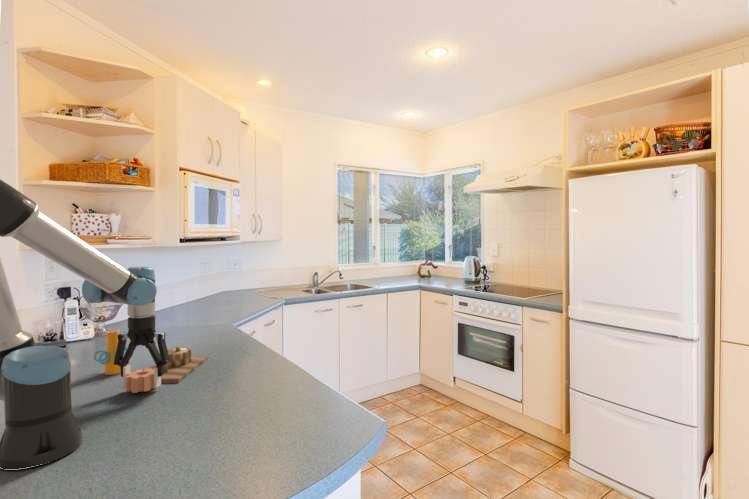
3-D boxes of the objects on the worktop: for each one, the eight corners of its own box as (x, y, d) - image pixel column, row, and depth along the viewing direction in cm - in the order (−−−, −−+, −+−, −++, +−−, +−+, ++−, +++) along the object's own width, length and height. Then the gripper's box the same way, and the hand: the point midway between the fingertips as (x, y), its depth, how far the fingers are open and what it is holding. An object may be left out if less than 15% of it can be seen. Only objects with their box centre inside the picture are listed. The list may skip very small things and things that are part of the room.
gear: (148, 392, 121) (148, 378, 121) (119, 392, 121) (119, 378, 121) (163, 382, 130) (163, 368, 130) (136, 382, 130) (136, 368, 130)
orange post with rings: (112, 379, 136) (110, 336, 135) (87, 377, 138) (85, 335, 137) (140, 367, 147) (138, 327, 147) (116, 365, 150) (115, 326, 149)
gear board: (178, 382, 132) (178, 361, 132) (130, 383, 132) (129, 362, 131) (207, 359, 156) (206, 341, 156) (166, 360, 156) (165, 342, 155)
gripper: (181, 313, 129) (182, 382, 129) (114, 313, 128) (115, 382, 129) (170, 317, 121) (171, 390, 122) (98, 318, 121) (99, 391, 121)
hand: (142, 386), depth 125 cm, fingers closed on gear, 9 cm apart
